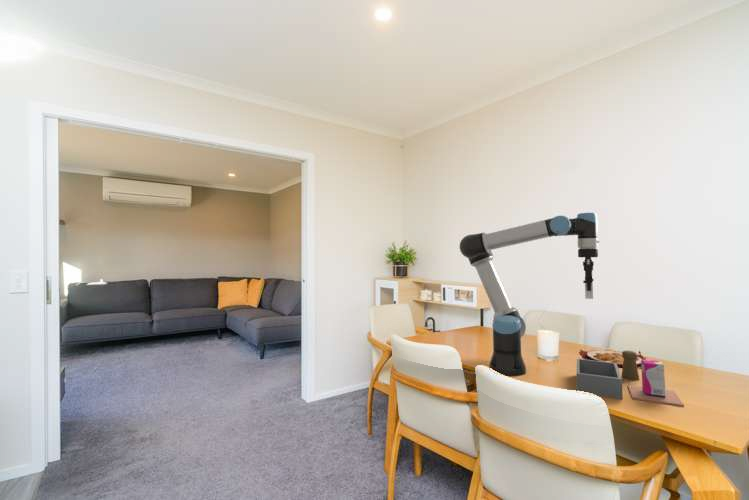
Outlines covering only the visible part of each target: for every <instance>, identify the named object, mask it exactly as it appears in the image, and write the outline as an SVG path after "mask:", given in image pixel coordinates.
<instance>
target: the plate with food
mask: <svg viewBox="0 0 749 500" xmlns="http://www.w3.org/2000/svg"><path fill="white" fill-rule="evenodd" d="M579 351H580V354H581V356H582V359H585V360H594V361H603V362H612V363H617V366H618V368H619V369H622V368H623V360H624V358H623V357H622V352H623V351H616V350H608V349H598V350H592V349H591V350H590V351H585V350H582V349H579ZM586 358H587V359H586ZM641 360H647V358H646V357H644V356H643V355H642V354H641V350H639V351H638V354H637V359H636V364H637V368H638V370H642V367H641Z"/></svg>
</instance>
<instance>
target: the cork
mask: <svg viewBox="0 0 749 500" xmlns="http://www.w3.org/2000/svg"><path fill="white" fill-rule="evenodd" d="M621 352H622V357H623V358H624V360H623V367H621V378H622V379H625V380H627V381H628V380H629V381H639V380H640V376H639V368H638V367H637V364H636V359H637V355H638V353H637V352H636V351H633V350H623V351H621Z"/></svg>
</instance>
